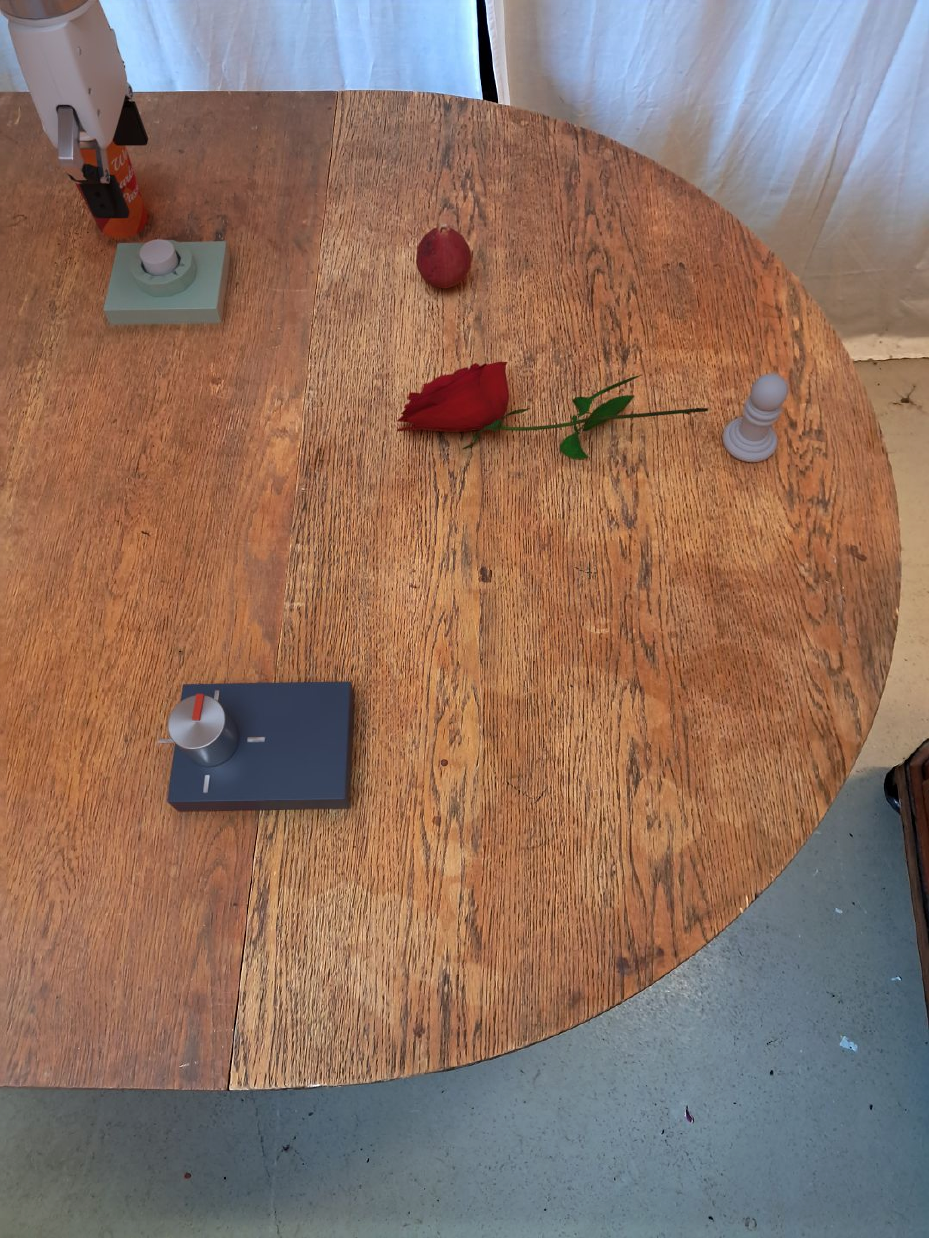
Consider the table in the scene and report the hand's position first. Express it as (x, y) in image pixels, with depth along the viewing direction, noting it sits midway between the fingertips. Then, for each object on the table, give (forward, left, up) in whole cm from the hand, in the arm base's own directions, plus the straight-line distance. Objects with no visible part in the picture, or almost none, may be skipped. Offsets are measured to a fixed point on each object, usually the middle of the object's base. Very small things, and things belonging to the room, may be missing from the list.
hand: (122, 179), depth 82 cm
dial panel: (+14, -50, -17) cm, 54 cm away
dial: (+10, -50, -13) cm, 52 cm away
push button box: (-1, +3, -17) cm, 17 cm away
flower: (+39, -17, -17) cm, 46 cm away
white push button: (-1, +3, -13) cm, 13 cm away
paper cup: (-8, +14, -17) cm, 23 cm away
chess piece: (+59, -19, -17) cm, 64 cm away
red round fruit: (+29, +3, -17) cm, 34 cm away
